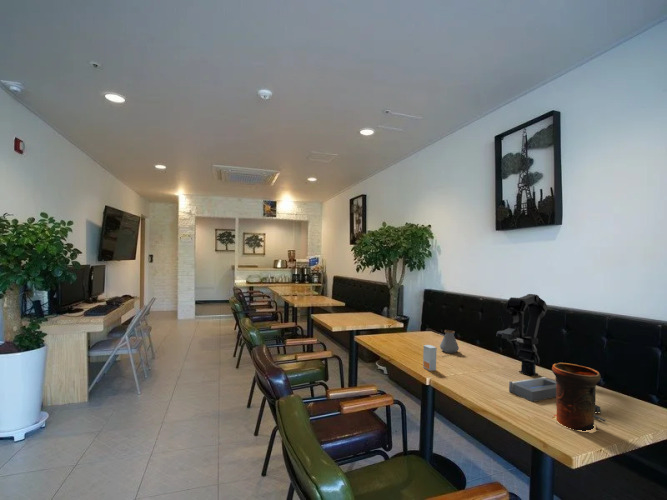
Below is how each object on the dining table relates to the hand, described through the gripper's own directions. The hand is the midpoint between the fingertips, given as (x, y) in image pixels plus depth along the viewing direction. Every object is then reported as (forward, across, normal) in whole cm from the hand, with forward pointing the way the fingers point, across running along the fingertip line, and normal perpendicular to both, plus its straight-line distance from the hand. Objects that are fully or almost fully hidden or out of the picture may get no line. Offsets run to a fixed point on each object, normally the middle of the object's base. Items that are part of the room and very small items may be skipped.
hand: (516, 354), depth 168 cm
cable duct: (+12, +17, -7) cm, 22 cm away
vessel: (+12, +39, -24) cm, 47 cm away
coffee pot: (+12, -52, +2) cm, 53 cm away
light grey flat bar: (+12, +11, -8) cm, 18 cm away
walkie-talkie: (+13, +35, -8) cm, 38 cm away
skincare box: (+12, -29, -30) cm, 43 cm away
